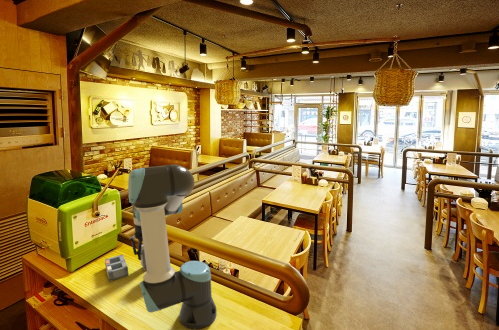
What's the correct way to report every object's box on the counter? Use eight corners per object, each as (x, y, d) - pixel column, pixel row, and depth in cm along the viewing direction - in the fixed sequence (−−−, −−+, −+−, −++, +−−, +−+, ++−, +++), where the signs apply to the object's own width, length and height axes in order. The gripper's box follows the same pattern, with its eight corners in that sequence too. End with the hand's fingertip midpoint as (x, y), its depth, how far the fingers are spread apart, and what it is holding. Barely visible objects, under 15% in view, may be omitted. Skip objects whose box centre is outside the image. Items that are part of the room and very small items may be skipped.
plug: (151, 268, 152) (148, 246, 149) (144, 270, 150) (141, 248, 147) (149, 264, 155) (147, 243, 152) (142, 267, 153) (140, 245, 150)
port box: (128, 275, 146) (127, 266, 144) (108, 281, 141) (107, 272, 140) (123, 262, 157) (122, 253, 156) (105, 267, 152) (104, 259, 151)
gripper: (156, 216, 153) (160, 255, 159) (123, 224, 145) (128, 265, 150) (160, 221, 147) (164, 261, 153) (125, 229, 139) (131, 272, 144)
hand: (146, 263), depth 152 cm, fingers closed on plug, 4 cm apart
